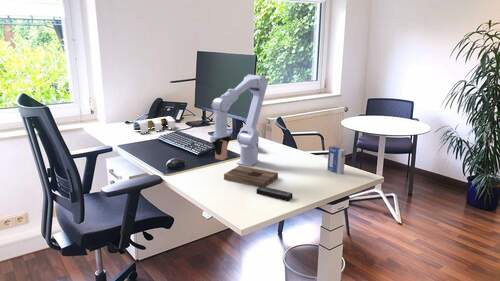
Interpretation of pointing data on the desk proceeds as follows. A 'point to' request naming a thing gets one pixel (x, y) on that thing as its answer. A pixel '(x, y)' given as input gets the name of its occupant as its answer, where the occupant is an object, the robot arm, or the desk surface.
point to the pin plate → (251, 176)
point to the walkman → (336, 160)
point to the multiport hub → (274, 193)
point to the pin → (222, 151)
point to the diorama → (153, 123)
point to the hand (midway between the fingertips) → (221, 153)
